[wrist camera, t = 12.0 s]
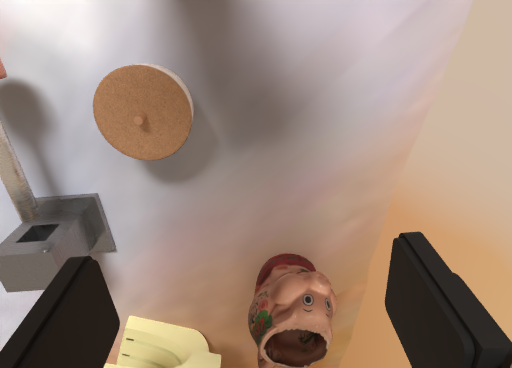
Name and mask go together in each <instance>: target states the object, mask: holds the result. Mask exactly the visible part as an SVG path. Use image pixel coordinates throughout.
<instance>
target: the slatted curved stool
mask: <svg viewBox="0 0 512 368" xmlns="http://www.w3.org/2000/svg"><path fill="white" fill-rule="evenodd" d="M119 365H120V366H119ZM220 365H221V355H219V354H214V353H210V352H209V348H208V344H207V342H206V339H205V338H204V336H203V335H202V334H201V333H200V332H199V331H197V330H194V329H190V328H185V327H181V326H176V325H172V324H167V323H162V322H158V321H153V320H149V319H144V318H139V317H135V316H129V319H128V321H127V324H126V327H125V331H124V335H123V340H122V343H121V347H120V351H119V356H118V359H117V363H116V365H113V364H107V363H105V365H104V368H220Z"/></svg>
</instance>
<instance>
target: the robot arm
mask: <svg viewBox="0 0 512 368" xmlns="http://www.w3.org/2000/svg"><path fill="white" fill-rule="evenodd" d="M385 307H386V310H387V313H388V315H389V318H390V320H391V322H392V324H393V326H394V329H395V331H396V333H397V335H398V337H399V340H400V341H401V344H402V346H403V348H404V351H405V353H406V355H407V357H408V359H409V362H410V364H411V366H412V368H512V342H511V341H510V340H509V338H508V337H507V336H506V335H505V333H504V332H503V331H502V330H501V328H500V327H499V326H498V324H497V323H496V322H495V320H494V319H493V318H492V317H491V316H490V314H489V313H488V312H487V310H486V309H485V308H484V306H483V305H482V304H481V303H480V302H479V300H478V299H477V298H476V296H475V295H474V294H473V293H472V291H471V290H470V289H469V287H468V286H467V285H466V284H465V282H464V281H463V280H462V279H461V278H460V277H459V276H458V275H457V274H455V273H452V271H451V270H450V269H449V267H448V266H447V265H446V264H445V262H444V261H443V260H442V258H441V257H440V256H439V254H438V253H437V252H436V251H435V249H434V248H433V247H432V246H431V244H430V243H429V241H428V240H427V239H426V238H425V237H424V235H423V234H422V233H421V232H409V233H401V234H400V235H399V237H398V238H395V239H394V240H393V246H392V253H391V261H390V267H389V275H388V282H387V289H386V297H385ZM119 326H120V321H119V317H118V314H117V312H116V309H115V306H114V304H113V301H112V298H111V296H110V293H109V290H108V288H107V285H106V282H105V280H104V277H103V274H102V272H101V269H100V266H99V264H98V262H97V261H96V260H93V259H92V258H91V257H90V256H79V257H70V258H68V259H67V260H66V262H65V263H64V265H63V266H62V267H61V269H60V270H59V271H58V273H57V274H56V276H55V277H54V278H53V280H52V281H51V283H50V284H49V285H48V287H47V288H46V289H45V291H44V292H43V294H42V295H41V296H40V298H39V299H38V300H37V302H36V303H35V305H34V306H33V307H32V309H31V310H30V311H29V313H28V314H27V316H26V317H25V318H24V320H23V321H22V323H21V324H20V325H19V327H18V328H17V329H16V331H15V332H14V334H13V335H12V336H11V338H10V339H9V340H8V342H7V343H6V345H5V346H4V347H3V349H2V350H1V351H0V368H104V365H105V363H106V360H107V358H108V355H109V353H110V350H111V348H112V346H113V343H114V341H115V338H116V336H117V333H118V331H119Z"/></svg>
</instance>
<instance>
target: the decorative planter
mask: <svg viewBox="0 0 512 368" xmlns="http://www.w3.org/2000/svg"><path fill="white" fill-rule="evenodd" d="M336 309H337V299H336V296H335V294H334V292H333V290H332V289H331V284H330V282H329V280H328V279H327V278H326V277H325V276H324V275H323V274H322V273H320V272H316V270H315V268H314V266H313V264H312V263H311V262H310V261H309V260H307V259H306V258H304V257H302V256H299V255H295V254H281V255H278V256H275V257H272V258H271V259H269V260H268V261H267V262H266V263H265V265H264V266H263V267H262V269H261V271H260V273H259V276H258V279H257V283H256V289H255V295H254V299H253V302H252V304H251V306H250V310H249V315H248V324H249V329H250V333H251V335H252V337H253V339H254V340H255V342H256V344H257V347H258V350H259V351H258V366H259V368H273V367H274V366H275V365H276V366H280V367H285V368H302V367H308V366H311V365H313V364H315V363H317V362H318V361H320V360H321V359H323V358H324V356H325V355H326V353H327V351H328V349H329V346H330V344H331V341H332V329H331V319H332V318H333V316H334V314H335V312H336Z"/></svg>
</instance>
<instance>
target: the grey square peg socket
mask: <svg viewBox="0 0 512 368" xmlns="http://www.w3.org/2000/svg"><path fill="white" fill-rule="evenodd" d="M35 199H36V202H37V204H38V206H39V209H40V211H41V213H42V216H41V217H40V218H38V219H37V220H34V221H32V222H26V223H24V222H23V223H22V224H21V225H20V226H19V227H18V228H17V229H16V230H15V231H14V232H12V233H11V234H10V235H9V236H8V237H7V238H6V239H5V240H4V241H3V242H2V243H1V244H0V281H1V282H2V284H3V286H4V288H5V290H6V291H7V292H19V291H33V290H45V289H46V288H47V287H48V285H49V284H50V283H51V281H52V280H53V278H54V277H55V276H56V274H57V273H58V271H59V270H60V269H61V267H62V266H63V265H64V263H65V262H66V260H67V259H68V258H70V257H79V256H88V255H89V253H90V252H101V251H113V250H114V248H115V244H114V241H113V238H112V235H111V232H110V229H109V226H108V223H107V220H106V217H105V214H104V211H103V208H102V205H101V202H100V200H99V197H98V194H97V193H95V194H82V195H69V196H56V197H43V198H35Z"/></svg>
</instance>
